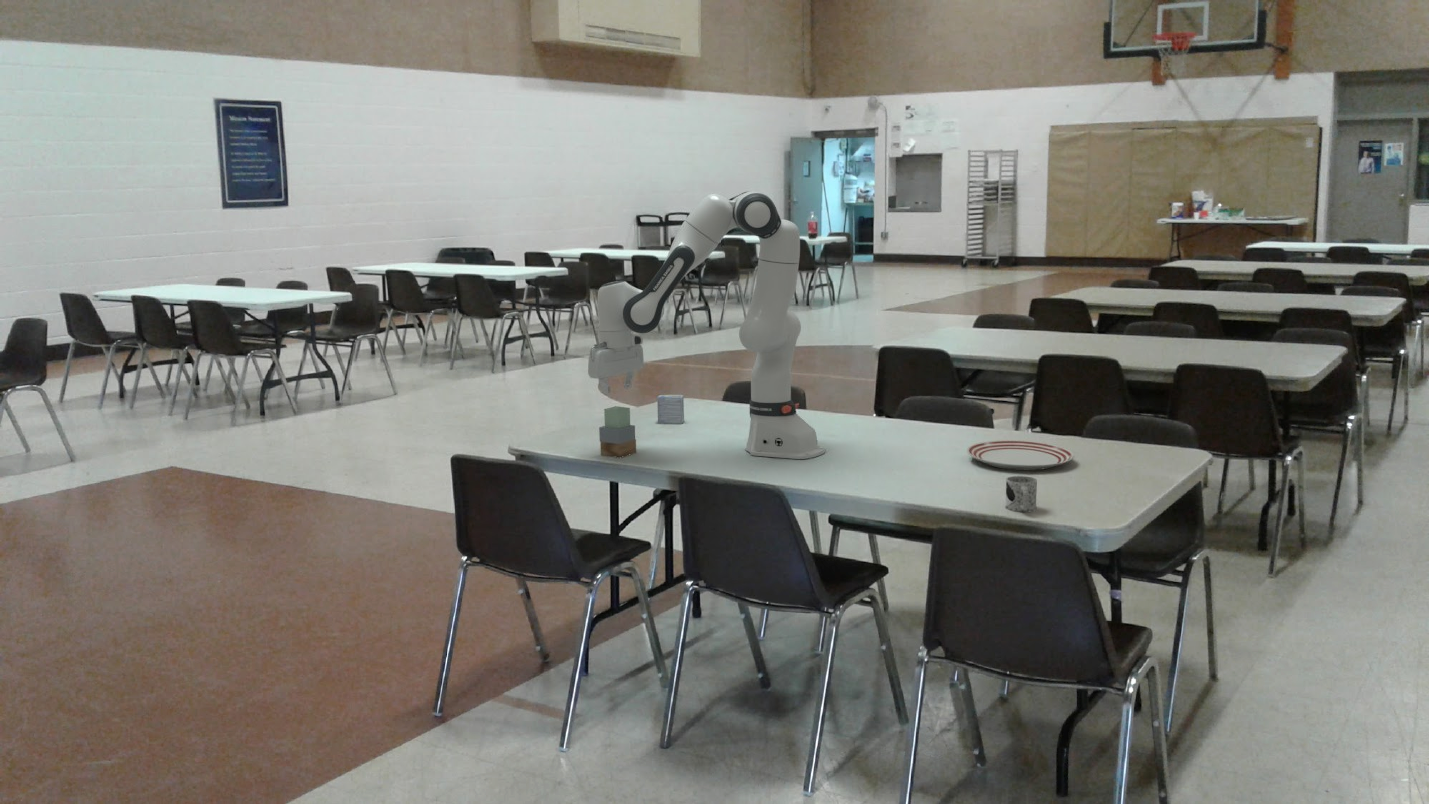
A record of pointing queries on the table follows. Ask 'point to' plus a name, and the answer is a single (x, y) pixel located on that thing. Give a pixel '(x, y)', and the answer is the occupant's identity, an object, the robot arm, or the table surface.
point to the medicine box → (670, 409)
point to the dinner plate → (1020, 454)
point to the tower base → (618, 448)
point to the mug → (1021, 493)
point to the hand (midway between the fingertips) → (617, 390)
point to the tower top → (617, 434)
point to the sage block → (617, 417)
